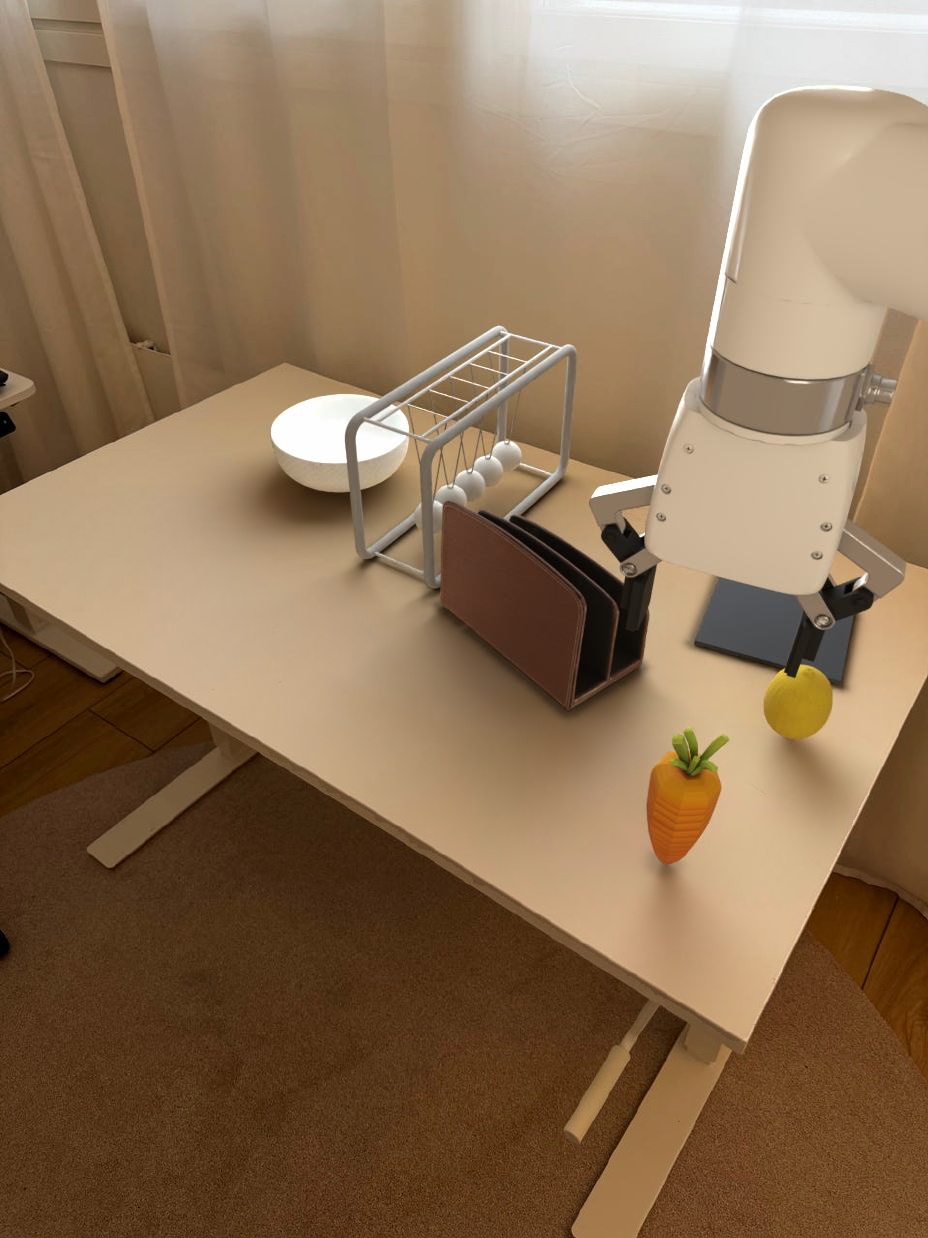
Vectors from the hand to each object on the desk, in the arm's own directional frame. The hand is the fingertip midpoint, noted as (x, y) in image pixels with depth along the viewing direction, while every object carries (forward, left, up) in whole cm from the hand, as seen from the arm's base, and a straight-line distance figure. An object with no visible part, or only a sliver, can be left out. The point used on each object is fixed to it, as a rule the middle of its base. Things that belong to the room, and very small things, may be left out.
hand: (713, 639), depth 55 cm
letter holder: (+18, -21, -24) cm, 36 cm away
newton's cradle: (+33, -37, -24) cm, 55 cm away
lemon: (-7, -18, -24) cm, 30 cm away
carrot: (-1, 0, -24) cm, 24 cm away
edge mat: (-4, -32, -23) cm, 40 cm away
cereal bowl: (+51, -39, -24) cm, 69 cm away
